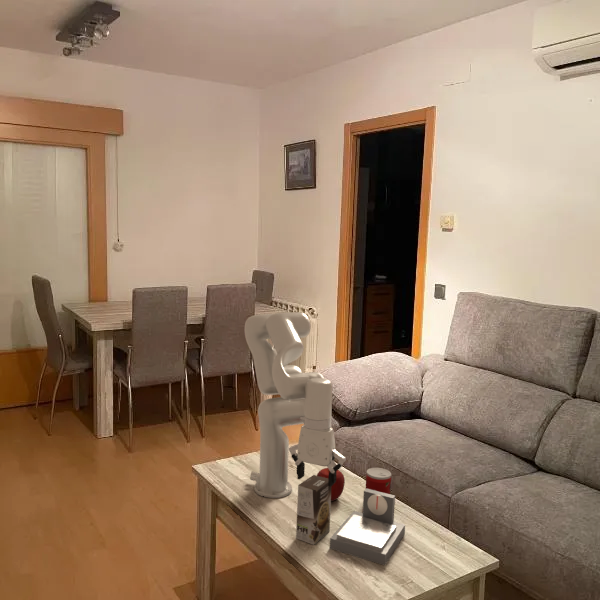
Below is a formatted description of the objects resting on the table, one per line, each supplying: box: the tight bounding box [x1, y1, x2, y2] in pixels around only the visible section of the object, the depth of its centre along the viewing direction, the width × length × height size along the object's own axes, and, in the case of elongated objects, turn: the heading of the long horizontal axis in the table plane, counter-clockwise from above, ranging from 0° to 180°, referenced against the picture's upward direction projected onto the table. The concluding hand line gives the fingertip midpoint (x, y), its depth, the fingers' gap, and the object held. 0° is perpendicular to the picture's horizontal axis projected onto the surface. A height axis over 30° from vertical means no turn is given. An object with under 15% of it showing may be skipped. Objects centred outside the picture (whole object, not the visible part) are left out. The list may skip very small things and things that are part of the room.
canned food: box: [365, 467, 392, 494], centre depth 185 cm, size 8×8×11 cm
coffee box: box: [295, 474, 332, 546], centre depth 165 cm, size 9×6×16 cm
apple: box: [316, 467, 346, 502], centre depth 188 cm, size 10×10×10 cm
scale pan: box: [337, 515, 396, 551], centre depth 162 cm, size 13×13×1 cm
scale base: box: [329, 488, 406, 566], centre depth 163 cm, size 16×18×11 cm
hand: (316, 481), depth 163 cm, fingers open, 9 cm apart
